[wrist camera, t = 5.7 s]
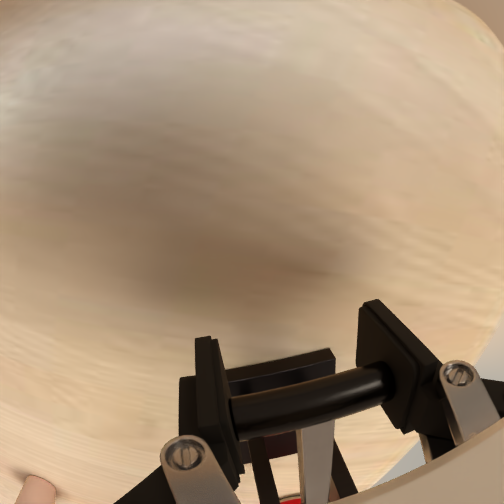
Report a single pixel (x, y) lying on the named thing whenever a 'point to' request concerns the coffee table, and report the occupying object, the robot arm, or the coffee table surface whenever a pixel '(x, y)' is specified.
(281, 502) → the beverage can
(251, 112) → the coffee table surface
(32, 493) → the smoothie
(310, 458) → the tap lever
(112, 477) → the coffee table surface
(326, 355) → the bracket
